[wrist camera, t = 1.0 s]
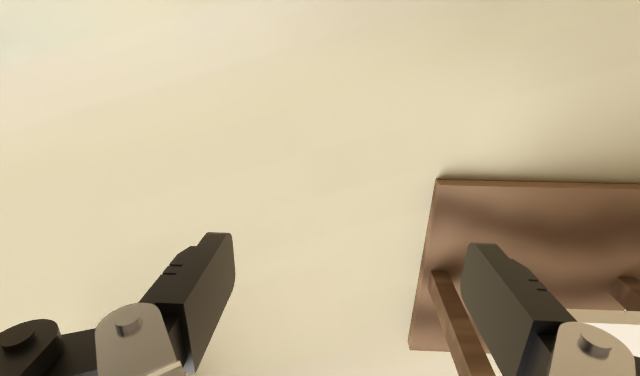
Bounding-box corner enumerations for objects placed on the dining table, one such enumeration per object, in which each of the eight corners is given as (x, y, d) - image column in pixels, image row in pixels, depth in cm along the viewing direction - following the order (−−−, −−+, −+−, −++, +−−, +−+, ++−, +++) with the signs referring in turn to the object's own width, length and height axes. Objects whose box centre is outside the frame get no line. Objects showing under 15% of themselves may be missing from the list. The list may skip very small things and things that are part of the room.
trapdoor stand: (435, 179, 28) (501, 278, 17) (675, 184, 28) (910, 292, 16) (407, 340, 37) (439, 477, 26) (590, 347, 36) (704, 491, 25)
